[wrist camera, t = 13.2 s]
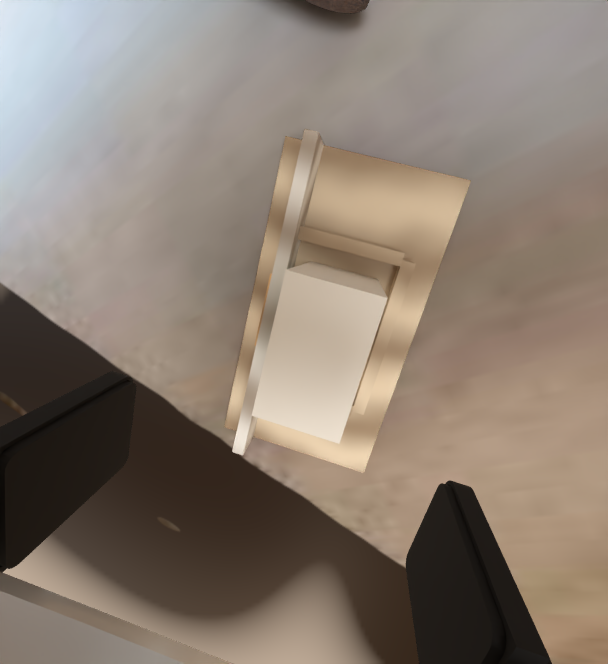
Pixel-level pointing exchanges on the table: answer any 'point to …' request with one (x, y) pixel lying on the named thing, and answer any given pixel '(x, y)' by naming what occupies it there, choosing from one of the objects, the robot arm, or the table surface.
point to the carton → (318, 348)
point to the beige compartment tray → (351, 255)
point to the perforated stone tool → (341, 5)
